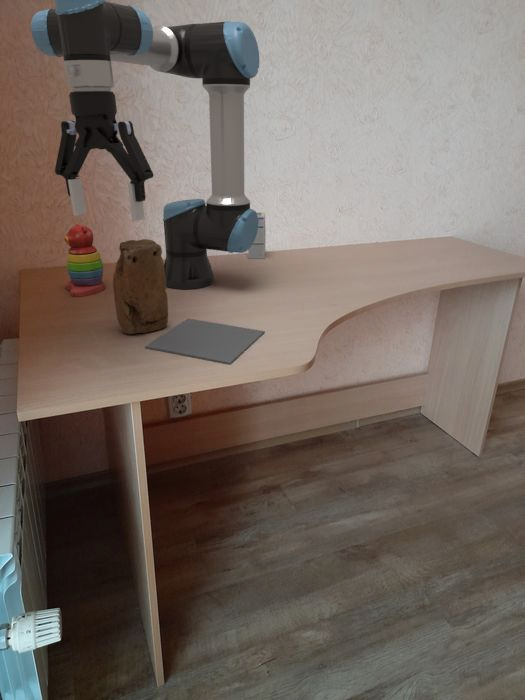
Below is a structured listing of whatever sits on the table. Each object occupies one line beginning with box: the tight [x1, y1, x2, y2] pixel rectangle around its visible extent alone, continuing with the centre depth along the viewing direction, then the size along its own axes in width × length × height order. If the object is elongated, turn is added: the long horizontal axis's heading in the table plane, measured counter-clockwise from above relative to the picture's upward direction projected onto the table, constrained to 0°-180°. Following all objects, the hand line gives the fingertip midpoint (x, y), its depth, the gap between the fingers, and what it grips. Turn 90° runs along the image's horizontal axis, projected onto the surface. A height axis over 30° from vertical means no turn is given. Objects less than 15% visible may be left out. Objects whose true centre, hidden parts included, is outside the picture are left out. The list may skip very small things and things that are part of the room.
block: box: [112, 238, 169, 335], centre depth 118 cm, size 11×8×20 cm
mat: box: [144, 318, 266, 365], centre depth 116 cm, size 18×20×1 cm
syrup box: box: [247, 212, 266, 260], centre depth 180 cm, size 6×6×14 cm
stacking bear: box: [64, 223, 105, 297], centre depth 144 cm, size 11×10×18 cm
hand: (108, 217), depth 99 cm, fingers open, 13 cm apart
